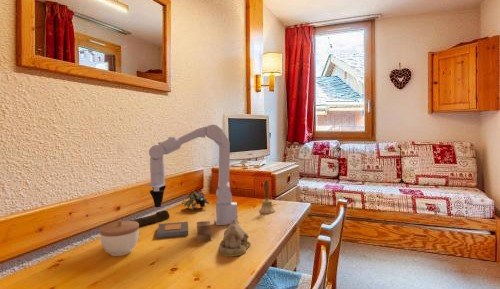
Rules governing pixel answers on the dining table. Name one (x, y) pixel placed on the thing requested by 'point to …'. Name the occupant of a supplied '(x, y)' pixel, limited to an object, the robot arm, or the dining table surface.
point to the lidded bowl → (119, 237)
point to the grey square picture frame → (172, 230)
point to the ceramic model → (234, 241)
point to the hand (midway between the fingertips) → (158, 204)
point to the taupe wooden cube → (204, 231)
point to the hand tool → (153, 218)
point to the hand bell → (267, 201)
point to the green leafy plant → (197, 198)
